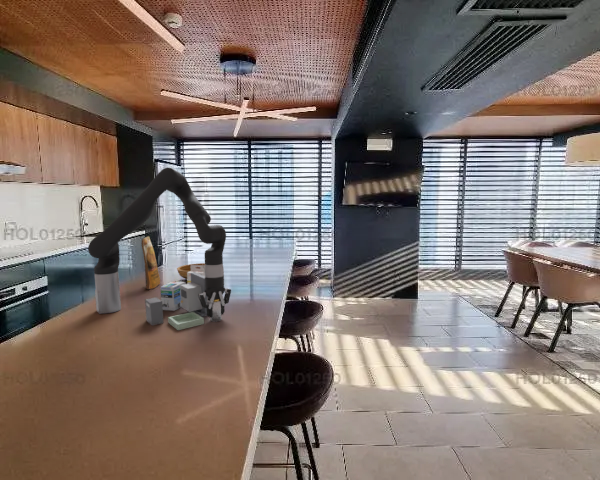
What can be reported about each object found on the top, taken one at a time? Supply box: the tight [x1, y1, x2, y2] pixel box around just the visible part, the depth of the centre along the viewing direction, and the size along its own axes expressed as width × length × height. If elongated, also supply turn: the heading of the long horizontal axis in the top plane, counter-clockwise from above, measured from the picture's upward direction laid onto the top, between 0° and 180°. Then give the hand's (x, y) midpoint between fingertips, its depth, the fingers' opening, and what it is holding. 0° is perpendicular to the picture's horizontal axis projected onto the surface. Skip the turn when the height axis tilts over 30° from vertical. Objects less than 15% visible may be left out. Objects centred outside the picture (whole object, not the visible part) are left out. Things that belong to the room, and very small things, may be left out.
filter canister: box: [210, 299, 222, 323], centre depth 144 cm, size 4×4×9 cm
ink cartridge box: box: [186, 265, 205, 284], centre depth 182 cm, size 9×5×15 cm, turn 84°
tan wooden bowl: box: [176, 262, 205, 280], centre depth 212 cm, size 30×24×8 cm
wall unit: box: [180, 272, 208, 318], centre depth 154 cm, size 12×16×16 cm
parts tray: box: [167, 311, 205, 331], centre depth 141 cm, size 10×10×2 cm
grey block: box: [144, 297, 164, 326], centre depth 142 cm, size 5×7×9 cm, turn 39°
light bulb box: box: [160, 281, 186, 312], centre depth 161 cm, size 11×7×11 cm, turn 168°
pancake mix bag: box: [141, 235, 161, 290], centre depth 198 cm, size 7×19×28 cm, turn 5°
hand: (215, 315), depth 145 cm, fingers closed on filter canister, 4 cm apart
